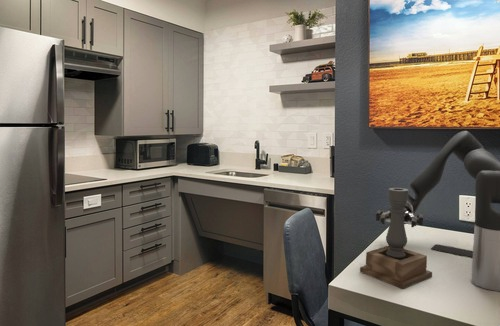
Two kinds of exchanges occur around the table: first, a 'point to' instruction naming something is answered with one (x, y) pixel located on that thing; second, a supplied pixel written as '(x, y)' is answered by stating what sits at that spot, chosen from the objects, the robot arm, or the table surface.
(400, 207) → the candle holder
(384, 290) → the table surface
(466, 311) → the table surface
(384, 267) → the socket block
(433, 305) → the table surface
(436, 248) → the phone
